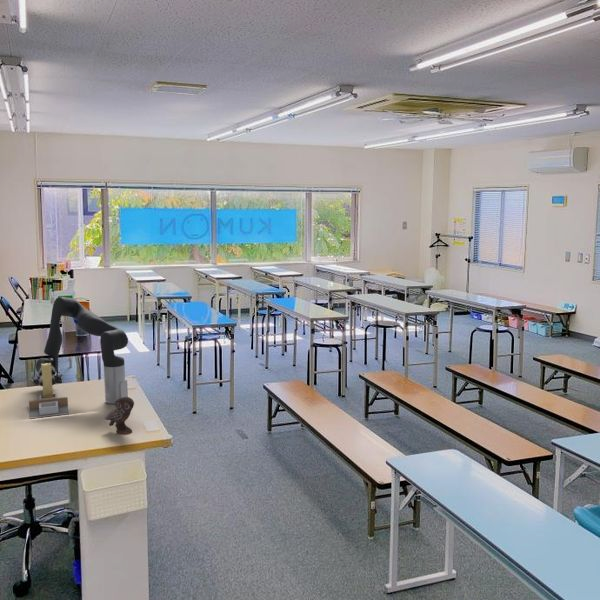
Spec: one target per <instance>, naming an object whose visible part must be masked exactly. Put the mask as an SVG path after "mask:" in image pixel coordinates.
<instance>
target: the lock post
mask: <svg viewBox="0 0 600 600" xmlns="http://www.w3.org/2000/svg"><path fill="white" fill-rule="evenodd" d="M41 368H42V381H43V386H42V391H43V392H42V393H43V394H42V395H43V396H44V399H45V398H53V393H54V391H53V390H54V389H53V387H54V386H53V385H52V372H51V363H43V364H41Z"/></svg>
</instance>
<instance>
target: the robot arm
mask: <svg viewBox="0 0 600 600" xmlns="http://www.w3.org/2000/svg"><path fill="white" fill-rule="evenodd" d="M62 317H69V318H74V319H75V320H77V321H76V322H77V326H78V327H79V328H80V329H81V330H82V331H84V333H87V334H88V335H92V336H96V337H100V339H99V341H100V342H99V343H100V350H101V351H100V353H101V359H102V362H103V379H104V381H103V382H104V393H105V394H104V396H105V397H104V398H105V403H106V404H109V405H114V404H115V402H116V401H117V400H118V399H120V398H122V397H129V391H128V380H127V379H126V369H125V359H124V357H121V356H119V355H115V351H118V350H122V349H125V348H126V347H127V346H128V344H129V337H128V336H127V334H126V332H125V331H124V330H122V329H121V328H119V327H117V326H114V325H112V324H111V323H109V322H107V321H106V320H104V319H103V318H101V317H100V316H98V315H97V314H96V313H94V312H92V311H91V310H89V309H88V308H86V307H84V305H82V304H81V303H80V302H79V301H78V300H77V299H76V298H71V297H65V296H59V297H57V298H55V300H54V302H53V304H52V309H51V317H50V323H49V332H48V335H47V336H48V337H47V340H46V343H45V347H44V351H43V353H44V354H45V355H47V356H49V357H50V358H52V359H49V358H44V357H40V358H39V359H37V361H36V362H35V371H36V372H37V373H38V376H37V377H36V376H31V383H32V384H34V385H35V386H36V385H39V386H40V387H43V381H42V368H41V364H43V363H51V372H52V386H54V385H56V383H57V384H59V383H60V382H61V381H62V380H63V379H64V376H63V375H64V374H63V373H60V374H58V375H57V372H58V371H59V355H60V350H61V347H62V345H63V334H62V331H61V326H60V325H61V324H60V323H61V319H62ZM63 381H64V380H63Z"/></svg>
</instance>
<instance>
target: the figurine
mask: <svg viewBox="0 0 600 600" xmlns="http://www.w3.org/2000/svg"><path fill="white" fill-rule="evenodd" d="M134 401H135V400H133V399H132V397H129V396H128V397H122V398H120V399H118V400H117V401H116V402H115V407H116V408H115V409H114V410H111V411H110V412H109V413H108V414H107V415H106V416H105V418H104V420H105V421H110V422H109V424H108V426H109V427H112V426H115V428H116V431H115V432H116V433H117V434H119V435H129V434H132V433H133V430H132V428H130V427H129V426H127V425H126V423H125V422H126V421H127V420H128V418H130V416H131V412H132V410H133V408H134V406H135V402H134Z"/></svg>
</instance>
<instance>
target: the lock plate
mask: <svg viewBox="0 0 600 600" xmlns="http://www.w3.org/2000/svg"><path fill="white" fill-rule="evenodd" d="M38 397H39V399H37V400H28V405H29V406H28V407H29V408H28V409H29V410H28V411H29V412H28V418H29V420H32V419H36V418H37V419H40V418H41V419H42V418H44V417H45V418H51V417H52V416H54V417H59V416H61V415H62V416H66V415H69V413H70V410H69V402H68V401H69V400H68V396H64V397H62V396H61V397H58V393H57V392H53V398H45V399H44V396H43V394H39V396H38Z"/></svg>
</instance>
